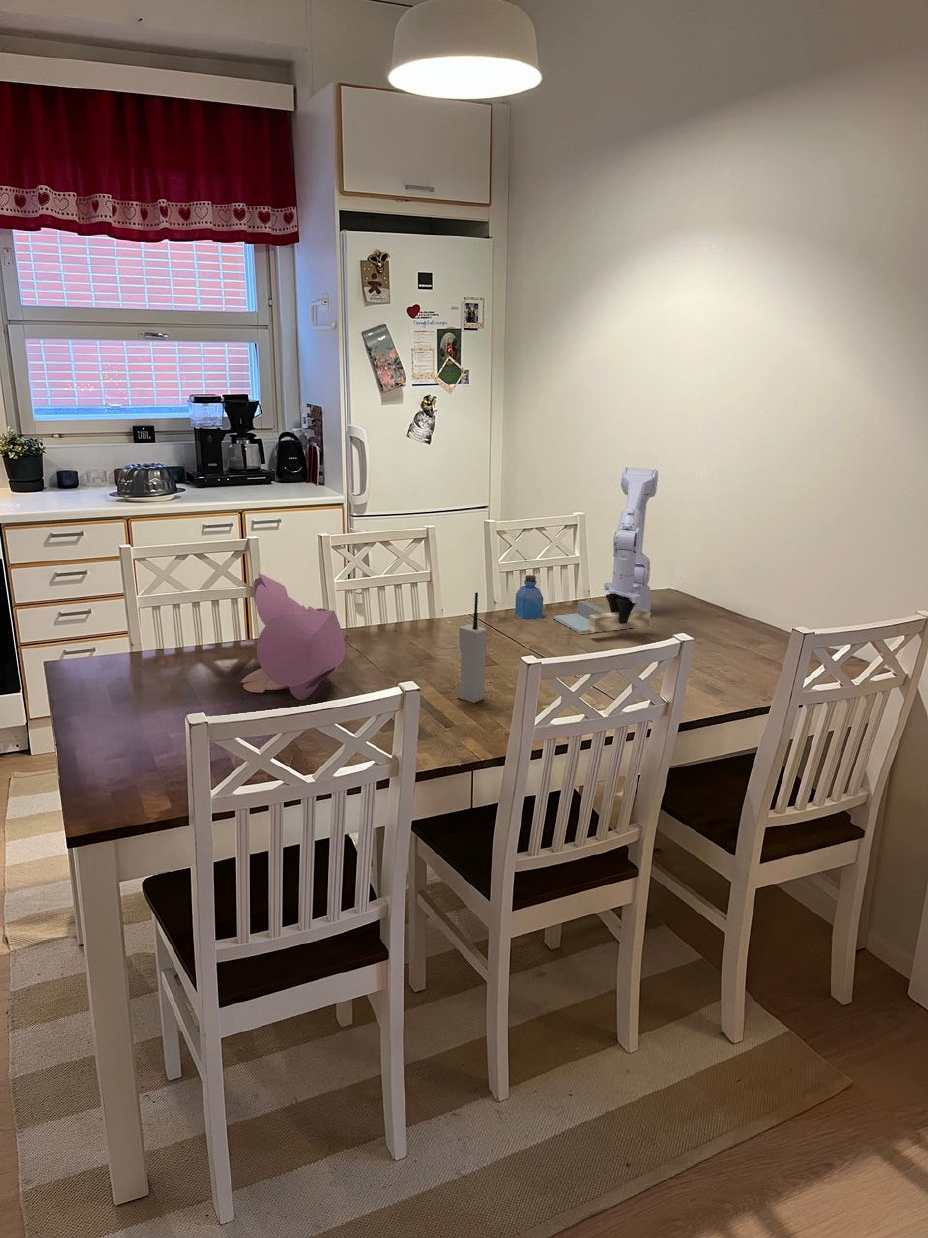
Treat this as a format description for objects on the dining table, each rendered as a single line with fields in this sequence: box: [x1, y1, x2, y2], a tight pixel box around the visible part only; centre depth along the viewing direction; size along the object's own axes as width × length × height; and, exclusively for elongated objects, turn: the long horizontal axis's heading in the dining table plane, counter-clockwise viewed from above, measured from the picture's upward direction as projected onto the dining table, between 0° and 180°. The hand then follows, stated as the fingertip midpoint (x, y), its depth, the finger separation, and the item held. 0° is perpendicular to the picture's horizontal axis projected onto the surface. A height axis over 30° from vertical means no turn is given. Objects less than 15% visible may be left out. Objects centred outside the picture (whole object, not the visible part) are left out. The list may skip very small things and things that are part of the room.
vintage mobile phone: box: [456, 591, 488, 704], centre depth 204 cm, size 4×5×25 cm
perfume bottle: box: [514, 574, 544, 620], centre depth 270 cm, size 6×6×12 cm
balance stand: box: [553, 600, 611, 633], centre depth 265 cm, size 18×15×5 cm
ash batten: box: [588, 609, 651, 633], centre depth 253 cm, size 18×3×4 cm, turn 115°
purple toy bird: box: [240, 572, 346, 701], centre depth 210 cm, size 35×24×28 cm
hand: (619, 621), depth 253 cm, fingers closed on ash batten, 3 cm apart
